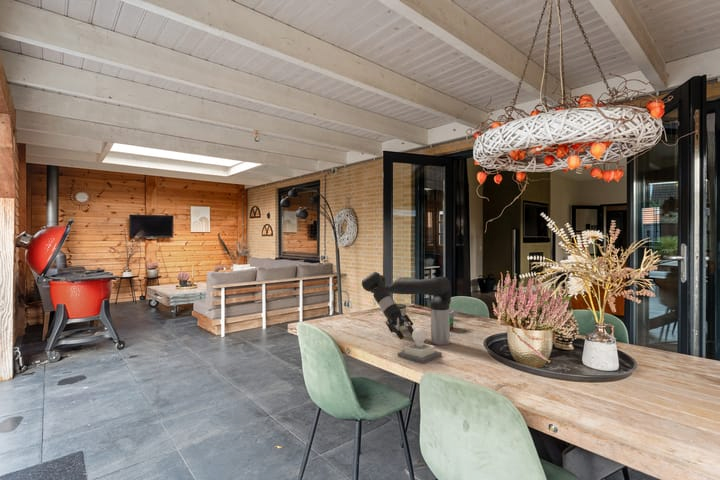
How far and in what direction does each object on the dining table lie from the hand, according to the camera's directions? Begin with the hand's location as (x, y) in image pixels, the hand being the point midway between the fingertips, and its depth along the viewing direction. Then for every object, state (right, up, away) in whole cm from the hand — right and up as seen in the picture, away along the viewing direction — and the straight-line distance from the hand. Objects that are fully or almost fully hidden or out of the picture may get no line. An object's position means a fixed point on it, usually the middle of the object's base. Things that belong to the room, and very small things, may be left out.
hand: (408, 336), depth 170 cm
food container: (+29, -7, +45) cm, 54 cm away
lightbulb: (+5, -7, -3) cm, 9 cm away
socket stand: (+5, -8, -3) cm, 10 cm away
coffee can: (0, -8, +46) cm, 47 cm away
